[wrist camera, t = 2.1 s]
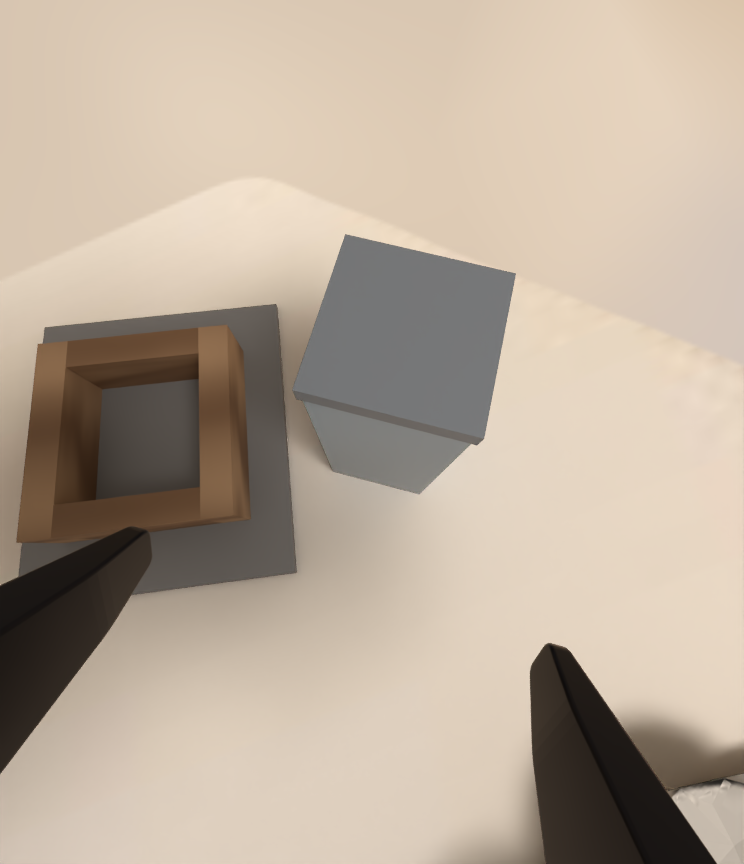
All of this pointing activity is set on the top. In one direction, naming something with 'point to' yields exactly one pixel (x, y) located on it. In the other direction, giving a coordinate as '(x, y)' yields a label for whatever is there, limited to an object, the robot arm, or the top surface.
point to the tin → (403, 361)
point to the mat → (193, 456)
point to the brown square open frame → (80, 431)
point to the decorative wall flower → (716, 815)
